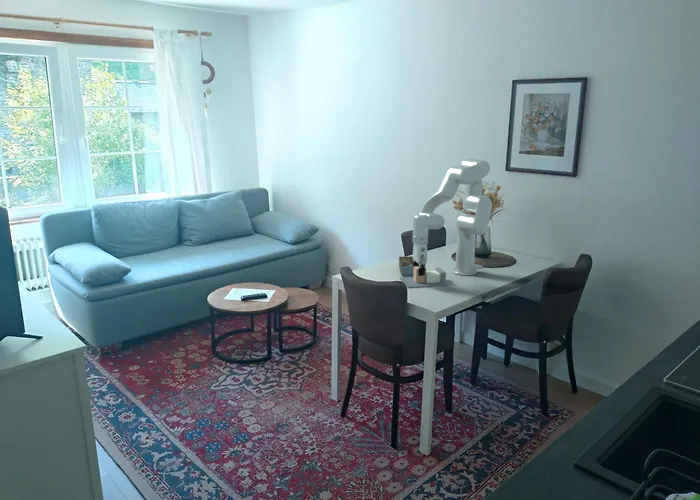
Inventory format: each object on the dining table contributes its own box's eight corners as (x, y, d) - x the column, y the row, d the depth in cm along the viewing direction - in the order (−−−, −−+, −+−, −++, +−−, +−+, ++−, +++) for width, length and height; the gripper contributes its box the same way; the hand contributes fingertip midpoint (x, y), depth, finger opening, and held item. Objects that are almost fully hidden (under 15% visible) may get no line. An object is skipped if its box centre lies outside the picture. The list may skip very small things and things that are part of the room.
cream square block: (439, 277, 275) (439, 267, 274) (445, 282, 267) (445, 272, 266) (422, 278, 274) (422, 268, 273) (427, 283, 265) (427, 273, 264)
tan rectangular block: (422, 279, 272) (423, 266, 270) (425, 282, 267) (426, 268, 265) (413, 279, 271) (413, 266, 269) (416, 282, 266) (416, 269, 265)
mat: (436, 276, 279) (436, 275, 279) (447, 285, 264) (447, 284, 263) (399, 278, 276) (399, 277, 275) (408, 288, 260) (408, 286, 260)
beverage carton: (400, 277, 279) (400, 264, 278) (398, 266, 298) (398, 255, 296) (415, 277, 279) (416, 264, 277) (412, 266, 298) (413, 255, 296)
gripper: (433, 243, 256) (431, 277, 260) (422, 235, 273) (420, 268, 277) (418, 243, 255) (416, 278, 259) (408, 236, 271) (406, 268, 275)
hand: (418, 272), depth 268 cm, fingers open, 9 cm apart
